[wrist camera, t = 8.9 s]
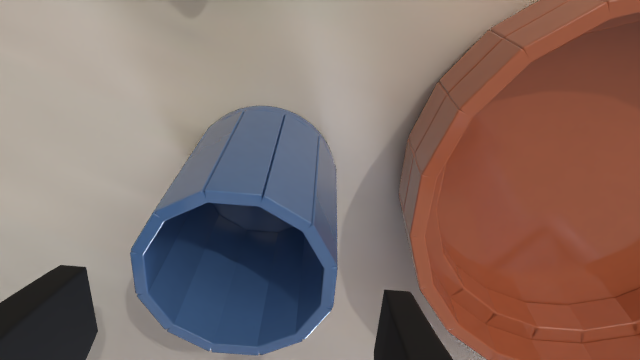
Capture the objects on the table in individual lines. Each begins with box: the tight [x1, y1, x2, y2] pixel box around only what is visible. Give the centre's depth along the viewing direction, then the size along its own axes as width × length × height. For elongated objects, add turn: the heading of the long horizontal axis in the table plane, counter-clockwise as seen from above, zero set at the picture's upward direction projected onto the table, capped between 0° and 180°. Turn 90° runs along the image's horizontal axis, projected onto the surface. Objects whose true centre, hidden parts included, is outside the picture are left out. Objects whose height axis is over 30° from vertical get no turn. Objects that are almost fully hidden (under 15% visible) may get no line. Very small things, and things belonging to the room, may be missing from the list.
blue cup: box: [130, 106, 338, 355], centre depth 15 cm, size 5×5×6 cm
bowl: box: [399, 0, 640, 360], centre depth 16 cm, size 14×14×4 cm
